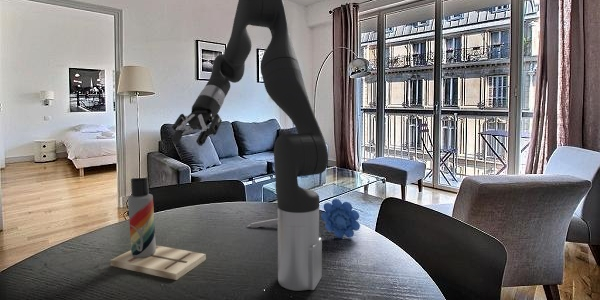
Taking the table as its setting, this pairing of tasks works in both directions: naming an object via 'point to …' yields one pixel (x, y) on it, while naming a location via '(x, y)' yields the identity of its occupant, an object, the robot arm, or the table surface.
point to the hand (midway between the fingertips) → (186, 143)
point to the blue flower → (340, 218)
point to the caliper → (263, 223)
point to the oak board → (161, 262)
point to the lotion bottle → (141, 219)
